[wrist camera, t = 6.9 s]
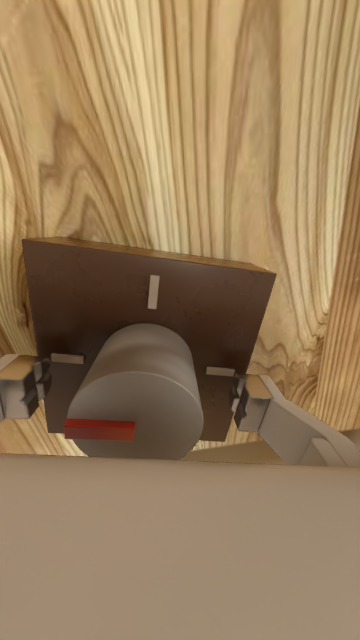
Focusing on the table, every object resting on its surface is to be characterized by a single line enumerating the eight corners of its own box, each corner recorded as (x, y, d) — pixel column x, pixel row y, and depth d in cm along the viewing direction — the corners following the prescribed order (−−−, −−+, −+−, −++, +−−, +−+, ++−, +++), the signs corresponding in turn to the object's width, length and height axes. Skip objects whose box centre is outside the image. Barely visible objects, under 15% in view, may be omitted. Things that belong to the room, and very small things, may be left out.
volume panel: (214, 404, 15) (225, 444, 12) (70, 394, 14) (46, 435, 11) (251, 263, 12) (279, 274, 9) (59, 236, 11) (17, 239, 8)
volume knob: (199, 327, 10) (217, 384, 6) (186, 403, 11) (194, 481, 8) (98, 318, 9) (55, 373, 6) (100, 397, 11) (67, 478, 7)
